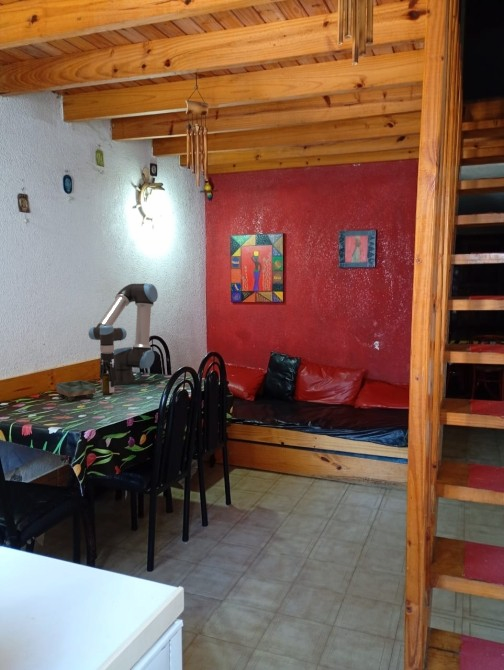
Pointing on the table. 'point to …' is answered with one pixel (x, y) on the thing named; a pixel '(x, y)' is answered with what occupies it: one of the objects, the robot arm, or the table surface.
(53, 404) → the table surface
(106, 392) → the condiment
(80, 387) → the shallow square tray
